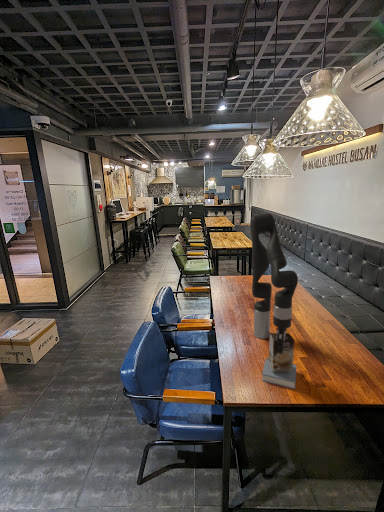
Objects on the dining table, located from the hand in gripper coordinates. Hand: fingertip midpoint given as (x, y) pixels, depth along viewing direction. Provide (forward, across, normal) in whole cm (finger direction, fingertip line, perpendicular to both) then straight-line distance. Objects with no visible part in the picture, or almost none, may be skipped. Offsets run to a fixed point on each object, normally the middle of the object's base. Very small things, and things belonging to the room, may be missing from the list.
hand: (280, 347), depth 112 cm
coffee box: (+11, 0, 0) cm, 11 cm away
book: (+15, 0, 0) cm, 15 cm away
